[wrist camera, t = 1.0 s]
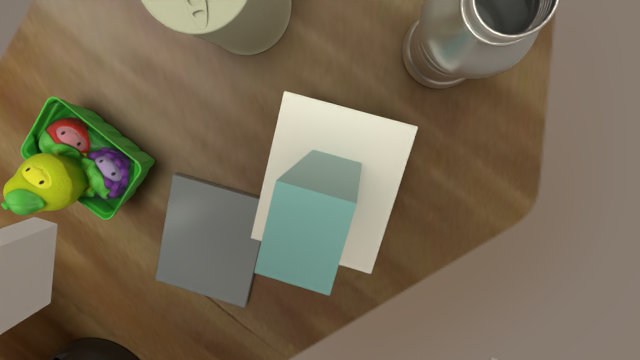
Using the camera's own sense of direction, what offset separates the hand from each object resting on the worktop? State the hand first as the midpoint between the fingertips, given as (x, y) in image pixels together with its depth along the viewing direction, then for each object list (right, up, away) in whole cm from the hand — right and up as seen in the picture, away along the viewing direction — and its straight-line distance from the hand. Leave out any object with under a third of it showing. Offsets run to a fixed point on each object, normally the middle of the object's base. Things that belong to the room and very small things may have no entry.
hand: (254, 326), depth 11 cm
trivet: (-10, -2, +31) cm, 33 cm away
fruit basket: (-22, +7, +31) cm, 39 cm away
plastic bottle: (+13, +16, +25) cm, 32 cm away
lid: (+3, +4, +21) cm, 22 cm away
